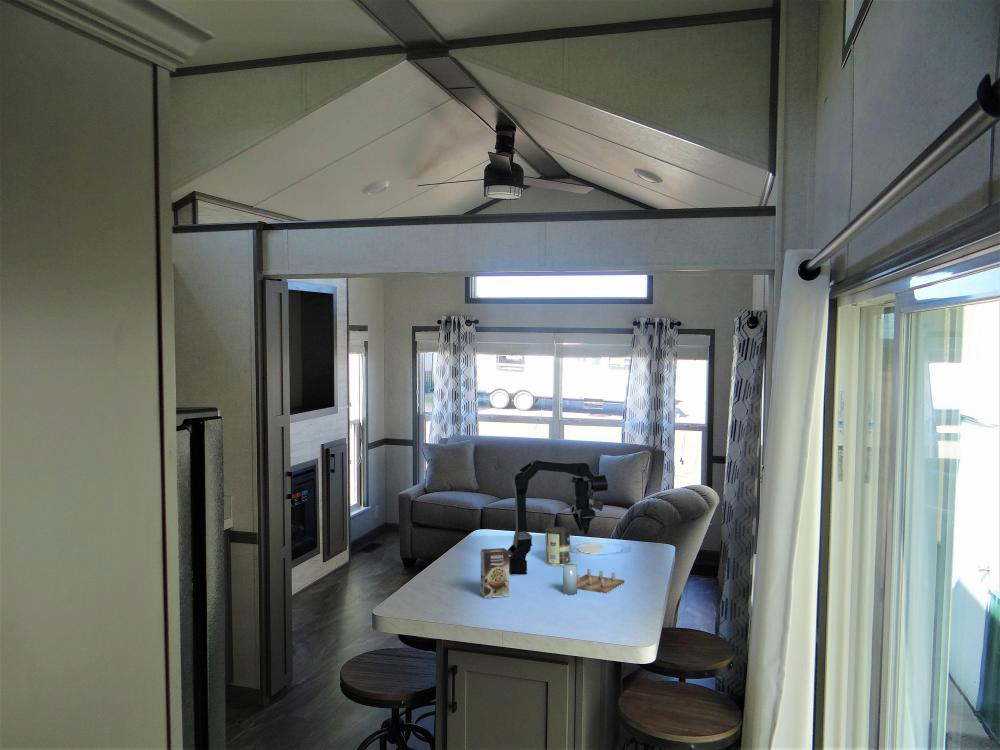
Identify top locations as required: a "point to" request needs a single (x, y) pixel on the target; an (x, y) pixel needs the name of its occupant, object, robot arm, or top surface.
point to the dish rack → (597, 582)
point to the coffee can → (557, 546)
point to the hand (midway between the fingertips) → (583, 532)
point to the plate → (589, 548)
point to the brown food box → (494, 572)
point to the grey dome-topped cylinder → (570, 579)
